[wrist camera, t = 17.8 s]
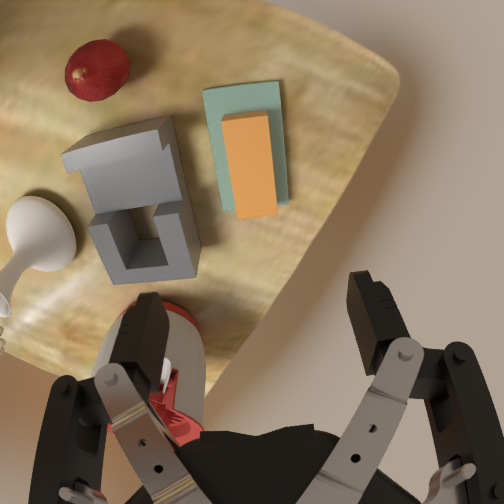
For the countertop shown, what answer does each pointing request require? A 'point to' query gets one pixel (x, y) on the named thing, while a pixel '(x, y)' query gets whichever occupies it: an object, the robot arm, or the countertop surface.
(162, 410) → the citrus juicer
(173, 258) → the kitting block
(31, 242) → the flower in vase
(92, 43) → the onion
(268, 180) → the plank
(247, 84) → the mat
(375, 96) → the countertop surface
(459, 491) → the robot arm
